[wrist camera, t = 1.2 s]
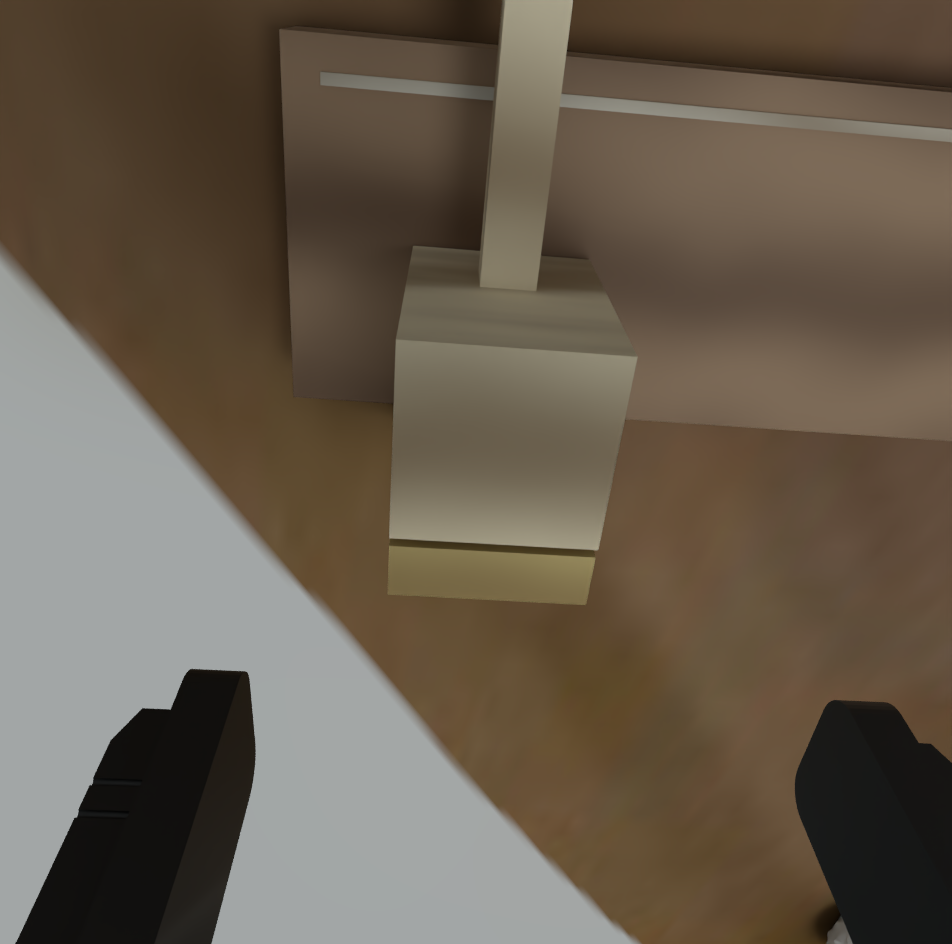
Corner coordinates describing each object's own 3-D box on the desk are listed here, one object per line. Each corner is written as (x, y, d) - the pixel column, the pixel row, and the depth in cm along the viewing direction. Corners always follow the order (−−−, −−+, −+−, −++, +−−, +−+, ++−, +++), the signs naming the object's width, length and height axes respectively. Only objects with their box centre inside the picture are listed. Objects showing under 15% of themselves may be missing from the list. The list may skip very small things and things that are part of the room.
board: (296, 26, 21) (278, 29, 19) (1264, 117, 23) (1346, 130, 21) (306, 365, 27) (293, 398, 24) (1096, 420, 28) (1149, 455, 26)
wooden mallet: (431, -98, 20) (412, -158, 12) (628, -78, 20) (735, -123, 12) (407, 425, 27) (387, 596, 20) (550, 434, 28) (586, 607, 20)
